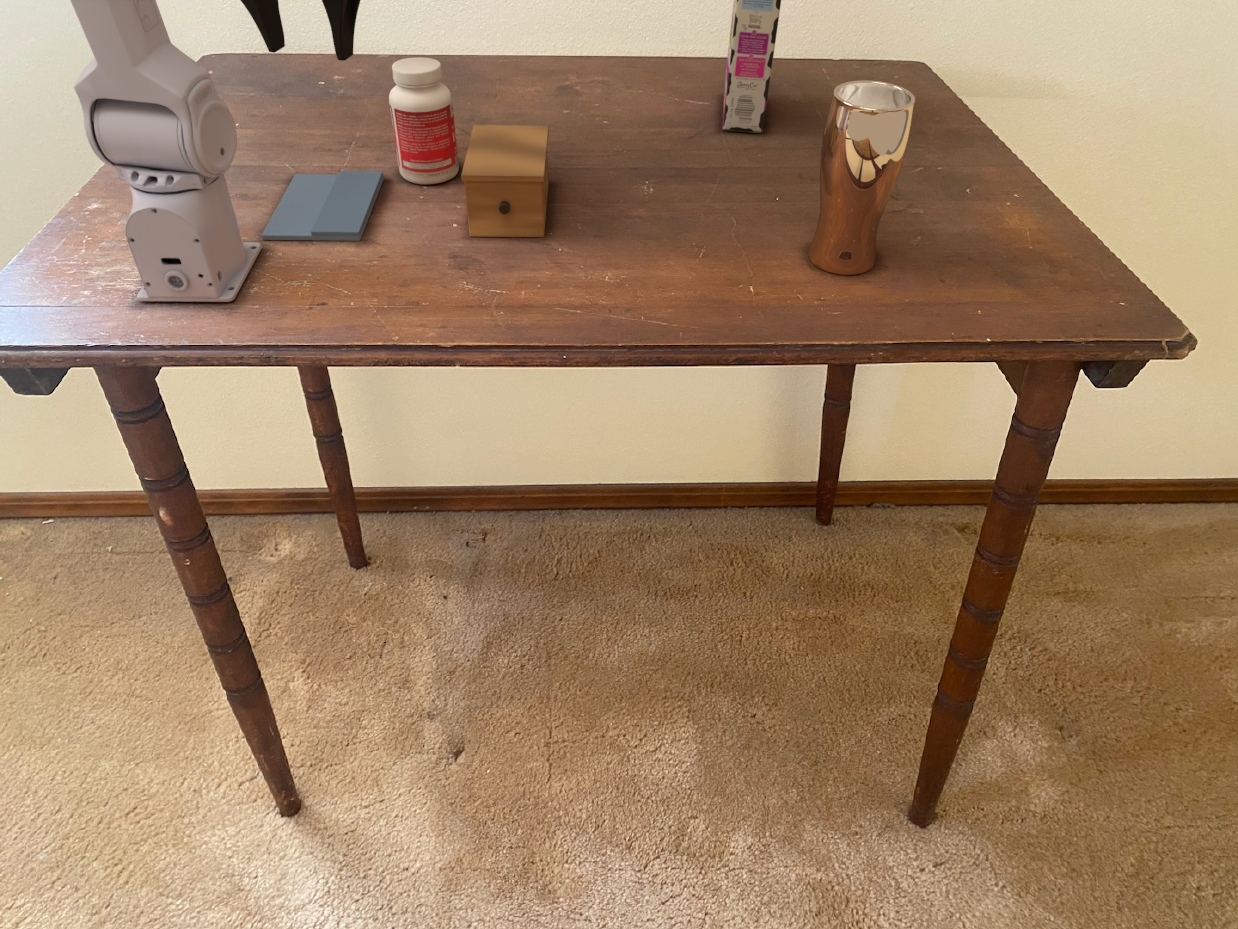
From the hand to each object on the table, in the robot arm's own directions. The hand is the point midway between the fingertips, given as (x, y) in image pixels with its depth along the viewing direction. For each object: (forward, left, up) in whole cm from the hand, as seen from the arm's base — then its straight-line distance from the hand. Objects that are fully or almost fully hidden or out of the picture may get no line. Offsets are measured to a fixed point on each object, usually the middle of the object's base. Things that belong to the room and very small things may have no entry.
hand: (311, 53), depth 94 cm
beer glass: (-22, -52, -10) cm, 57 cm away
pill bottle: (-5, -12, -10) cm, 16 cm away
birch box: (-13, -21, -10) cm, 26 cm away
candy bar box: (+12, -47, -10) cm, 49 cm away
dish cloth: (-13, -3, -10) cm, 17 cm away
